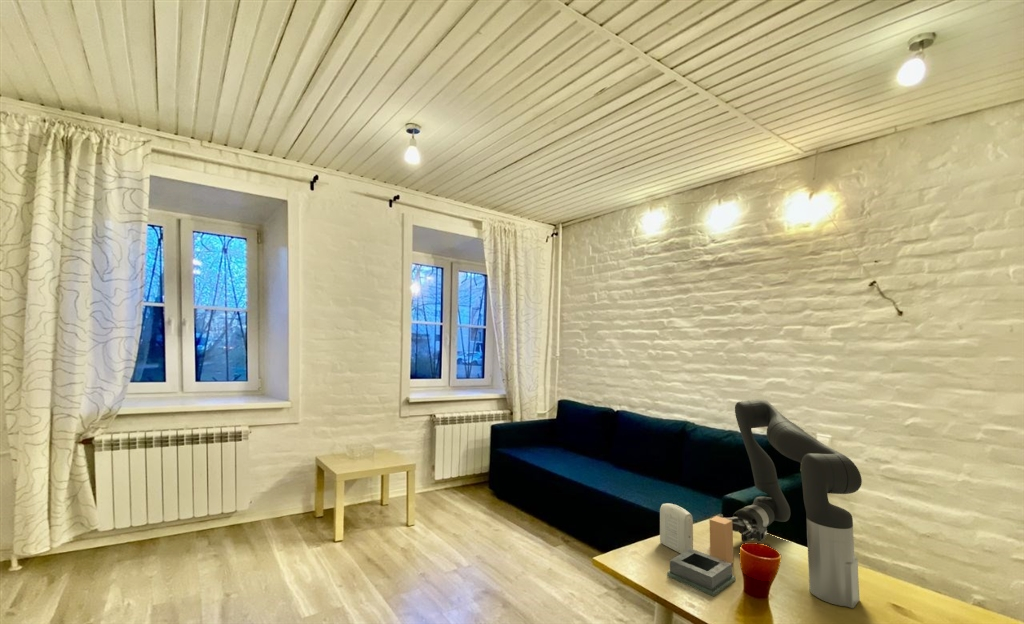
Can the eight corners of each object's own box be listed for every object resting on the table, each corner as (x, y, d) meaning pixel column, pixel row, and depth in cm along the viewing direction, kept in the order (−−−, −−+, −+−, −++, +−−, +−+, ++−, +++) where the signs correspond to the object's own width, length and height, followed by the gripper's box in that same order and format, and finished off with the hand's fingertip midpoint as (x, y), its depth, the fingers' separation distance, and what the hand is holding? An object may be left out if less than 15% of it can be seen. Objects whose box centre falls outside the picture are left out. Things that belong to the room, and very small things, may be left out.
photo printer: (695, 554, 126) (695, 509, 127) (685, 557, 124) (684, 512, 125) (667, 540, 135) (667, 499, 136) (657, 543, 133) (657, 501, 134)
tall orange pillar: (733, 561, 122) (732, 520, 123) (726, 566, 119) (725, 524, 120) (717, 555, 125) (716, 515, 126) (710, 560, 122) (709, 519, 123)
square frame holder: (735, 580, 111) (734, 563, 112) (713, 596, 104) (713, 578, 104) (690, 562, 121) (690, 547, 121) (667, 576, 113) (667, 559, 113)
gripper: (727, 501, 141) (702, 512, 131) (775, 514, 130) (753, 527, 120) (727, 525, 140) (703, 538, 130) (776, 540, 129) (754, 555, 119)
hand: (727, 533), depth 125 cm, fingers open, 8 cm apart
